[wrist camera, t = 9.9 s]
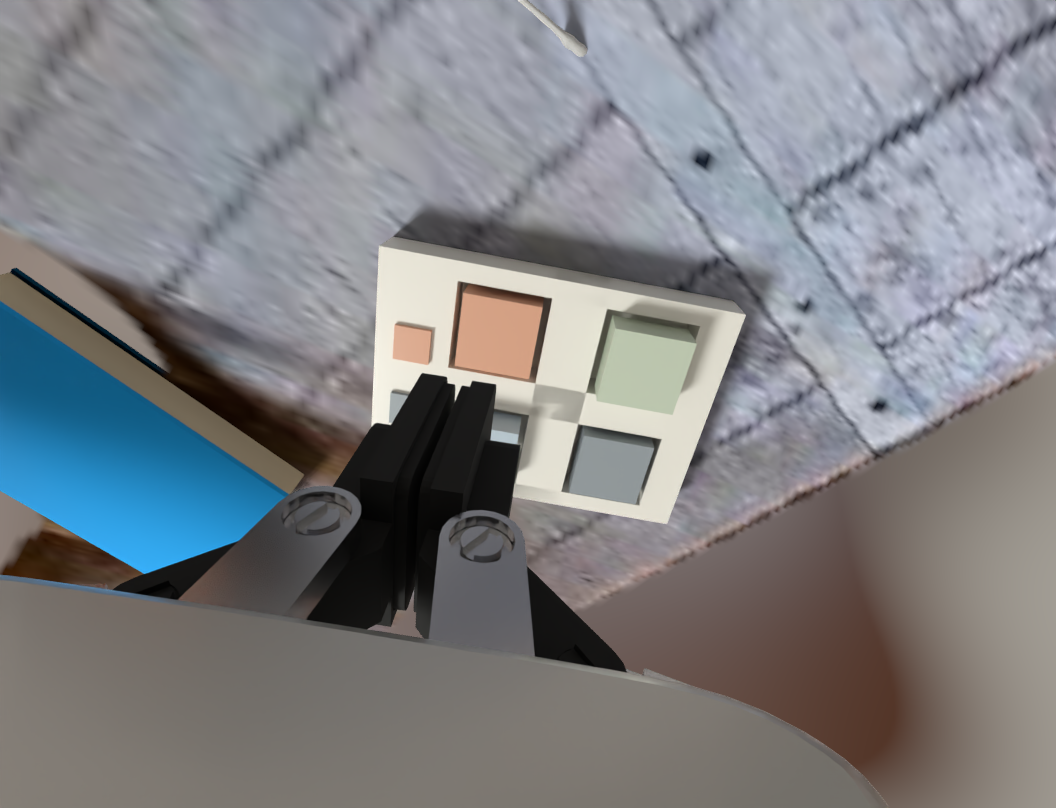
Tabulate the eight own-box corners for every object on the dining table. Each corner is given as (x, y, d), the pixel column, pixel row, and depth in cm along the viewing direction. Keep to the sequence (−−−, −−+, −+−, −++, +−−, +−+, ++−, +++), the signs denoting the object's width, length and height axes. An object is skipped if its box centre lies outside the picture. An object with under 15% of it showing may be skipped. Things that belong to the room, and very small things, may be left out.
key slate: (649, 430, 40) (654, 448, 38) (631, 484, 42) (635, 504, 40) (583, 418, 40) (584, 435, 38) (569, 473, 42) (569, 492, 40)
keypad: (732, 300, 36) (747, 316, 33) (660, 499, 44) (667, 526, 41) (392, 236, 36) (377, 246, 33) (381, 450, 44) (368, 473, 41)
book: (-41, 279, 35) (287, 499, 42) (18, 264, 39) (311, 468, 46) (-101, 441, 42) (192, 610, 48) (-44, 415, 46) (220, 574, 52)
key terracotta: (544, 295, 36) (542, 307, 34) (531, 364, 38) (528, 379, 36) (469, 282, 36) (463, 292, 34) (461, 351, 38) (454, 365, 36)
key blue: (521, 416, 39) (518, 434, 36) (510, 473, 41) (507, 493, 39) (451, 404, 38) (445, 421, 36) (445, 461, 41) (438, 481, 39)
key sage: (688, 329, 35) (696, 343, 33) (666, 397, 37) (672, 415, 35) (612, 315, 35) (615, 328, 33) (594, 384, 37) (596, 401, 35)
